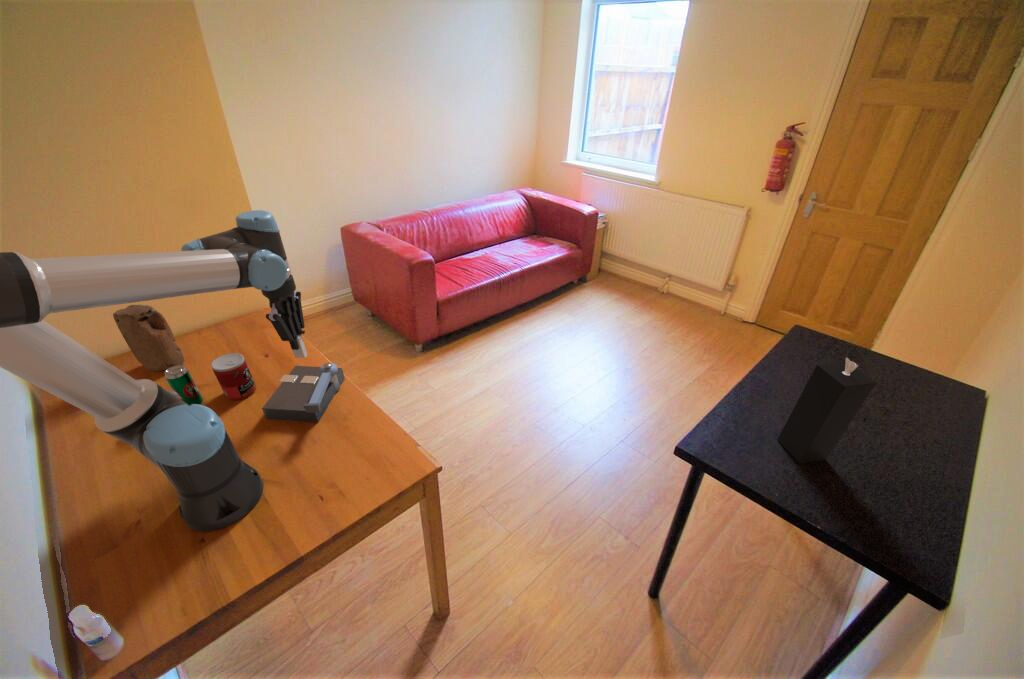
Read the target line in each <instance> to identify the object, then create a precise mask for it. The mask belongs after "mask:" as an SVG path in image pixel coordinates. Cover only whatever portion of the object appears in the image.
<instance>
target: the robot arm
mask: <svg viewBox="0 0 1024 679" xmlns="http://www.w3.org/2000/svg"><path fill="white" fill-rule="evenodd" d="M235 222H236V223H235V224H236V227H233V228H230V229H228V230H224V231H221V232H217V233H214V234H212V235H207V236H204V237H201V238H199V237H198V238H197V239H194V240H192V241H189V242H186V243H185V244H183V245H182V246H181V249H180V250H179V251H177V250H176V251H158V252H143V253H141V252H140V253H139V252H138V253H137V252H136V253H122V254H121V253H120V254H119V253H118V254H102V255H101V254H99V255H97V254H96V255H81V256H62V257H61V256H59V257H45V258H43V257H42V258H41V257H40V258H29V257H27V256H26V255H23V254H21V253H20V252H17V251H5V252H4V251H2V252H0V368H1V369H3V370H6V372H9V373H10V374H12V375H14V376H17V377H18V378H20V379H22V380H25V381H26V382H28V383H30V384H32V385H34V386H36V387H38V388H40V389H41V390H43V391H45V392H47V393H49V394H51V395H53V396H55V397H57V398H59V399H60V400H62V401H64V402H66V403H68V404H70V405H72V406H74V407H76V408H78V409H80V410H81V411H83V412H86V413H87V414H89V415H91V416H93V417H94V425H95V426H96V428H97V429H98V430H99V431H102V432H103V433H105V434H107V435H109V436H111V437H114V438H115V439H117V440H119V441H121V442H123V443H124V444H125V443H126V444H127V445H129V446H130V447H131V448H133V449H135V450H136V451H137V452H139V453H140V454H141V455H142V456H143V457H144V458H146V459H147V460H148V461H150V462H151V463H152V464H153V465H154V466H155V467H157V468H159V469H160V471H162V473H163V474H164V475H165V477H166V478H167V480H168V481H169V483H170V484H171V486H172V487H173V488H174V489H175V491H176V493H177V494H178V495H177V496H178V497H177V499H178V502H179V507H178V510H179V516H180V518H181V519H182V520H183V523H185V525H186V527H189V529H191V530H192V531H196V532H213V531H217V530H220V529H223V528H227V527H228V526H230V525H233V524H234V523H236V522H239V521H240V520H241V519H242V518H244V517H245V516H246V515H247V514H249V513H250V512H251V511H252V510H253V509H254V508H255V506H256V505H257V504H258V502H259V500H260V499H261V497H262V495H263V491H264V482H263V479H262V477H261V475H260V473H259V472H258V471H257V470H256V469H255V468H254V467H253V466H251V465H250V464H249V463H247V462H245V461H244V460H242V459H241V458H240V455H239V453H238V451H237V450H236V448H235V446H234V444H233V442H232V440H231V438H230V436H229V434H228V433H227V430H226V428H225V424H224V422H223V421H222V419H221V418H220V416H218V414H217V413H216V412H215V411H214V410H213V409H212V408H210V407H208V406H206V405H202V404H201V405H199V404H192V405H191V406H190V405H188V404H187V403H185V402H184V401H182V400H181V399H179V398H178V397H177V396H176V395H175V394H174V393H173V392H171V391H170V390H167V389H166V388H164V387H163V386H161V385H159V384H158V383H157V382H155V381H153V380H151V379H148V378H140V379H135V378H133V377H132V376H130V375H129V374H127V373H126V372H124V371H123V370H121V369H119V368H118V367H117V366H115V365H113V364H112V363H110V362H108V361H107V360H105V359H104V358H103V357H101V356H99V355H98V354H96V353H95V352H93V351H92V350H90V349H89V348H87V347H85V346H84V345H82V344H81V343H79V342H78V341H76V340H74V339H73V338H71V337H70V336H68V335H67V334H66V333H64V332H62V331H61V330H59V329H58V328H56V327H55V326H53V325H51V324H49V323H48V322H46V321H45V320H44V319H45V318H46V317H47V316H48V315H50V314H57V313H65V312H72V311H79V310H87V309H94V308H103V307H108V306H109V307H110V306H117V305H124V304H131V303H139V302H141V303H142V302H149V301H155V300H162V299H170V298H177V297H186V296H192V295H193V296H194V295H199V294H200V295H201V294H206V293H213V292H214V293H215V292H220V291H221V292H223V291H230V290H237V289H238V290H239V289H246V288H248V289H249V288H254V289H256V290H260V291H261V294H262V295H263V297H265V298H266V299H268V301H269V308H270V312H269V313H266V315H265V318H266V319H267V321H269V322H270V323H271V324H272V326H273V328H274V330H275V331H276V333H277V334H278V336H279V338H280V339H281V341H282V342H289V346H290V348H291V350H292V352H293V355H294V357H295V358H297V359H305V358H306V357H307V356H308V352H307V349H306V347H305V346H306V345H305V343H304V339H303V335H304V334H306V330H302V329H305V320H304V313H303V306H302V292H301V291H296V289H297V285H296V283H295V280H294V277H293V276H294V275H292V270H291V265H290V263H289V261H288V257H287V254H286V250H285V246H284V244H283V241H282V240H283V239H282V237H281V233H280V229H279V226H278V224H277V221H276V219H275V217H274V215H273V214H272V212H270V211H268V210H267V211H266V210H263V209H262V210H261V209H260V210H259V209H258V210H257V209H256V210H249V211H244V212H241V213H240V214H238V215H236V217H235ZM295 358H294V359H295Z"/></svg>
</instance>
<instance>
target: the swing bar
mask: <svg viewBox="0 0 1024 679" xmlns="http://www.w3.org/2000/svg"><path fill="white" fill-rule="evenodd" d="M330 363H331V365H332V367H331V368H329V369H325V368H324V364H322V366H320V367H321V368H320V372H321V377H320V379H319V382H318V384H317V386H316V388H315V391H314V393H313V395H312V397H311V399H310V402H309V403H307V404H305V405H304V407H305V409H306V412H307V413H314V412H320V411H321V409H320V406H319V405H320V403H321V400H322V398H323V396H324V393H325V391H326V389H327V386H328V384H329V381H330V379H331V377H332V376H334V375H336V374H337V372H338V369H337V368H338V365H337V364H336V363H333V362H330Z"/></svg>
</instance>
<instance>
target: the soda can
mask: <svg viewBox="0 0 1024 679" xmlns="http://www.w3.org/2000/svg"><path fill="white" fill-rule="evenodd" d="M164 379H165V381H166V382H167V384H168V386H169V388H170V389H171V391H172V393H173V394H174V395H176V396H177V397H178V398H179V399H181V400H182V401H184V402H185V403H187V404H188V405H190V406H191V405H192V404H199V405H202V404H203V402H204V398H203V395H202V393H201V392H200V390H199V388H198V386H197V384H196V382H195V381H194V378H193V377H192V375H191V373H190V371H189V370H188V367H185V366H184V365H182V364H181V365H176V366H173V367H170V368H168V369H167V370H164Z"/></svg>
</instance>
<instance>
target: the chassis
mask: <svg viewBox="0 0 1024 679" xmlns="http://www.w3.org/2000/svg"><path fill="white" fill-rule="evenodd" d="M331 363H332V362H326V363H324V364H323V365H324V368H325V369H329V368H331V367H332V365H331ZM320 368H321V366H310V365H309V366H308V365H307V366H306V365H295V366H294V367H293V368H292V369H291V371H289V373H288V374H283V375H282V377H281V378H280V379H279V380H278V382H279V383H280V384H279V386H278V387H277V388H276V390H275V391H274V392H273V394H271V396H270V397H269V399H268V400H267V401H266V402H265V403H264V405H263V407H262V408H261V409H262V412H263V414H264V417H265V418H266V420H270V421H271V420H273V421H289V422H292V421H293V422H306V423H319V422H320V420H321V418H322V417H323V415H324V413H325V412H326V411H327V409H328V407H329V406H328V405H330V404H331V402H332V401H333V399H334V397H335V396H336V394H337V393H338V392H340V390H341V386H342V384H343V382H344V381H345V379H346V378H345V375H344V374H345V373H344V371H343V368H341V367H337V369H338V372H337V374H336V375H334V376H332V377H331V379H330V381H329V384H328V386H327V389H326V391H325V393H324V396H323V398H322V400H321V403H320V405H319V406H320V409H321V411H320V412H314V413H307V412H306V409H305V407H304V405H305V404H307V403H309V402H310V399H311V397H312V395H313V393H314V391H315V388H316V386H317V384H318V382H319V379H320V377H321V372H320ZM334 395H335V396H334ZM331 400H332V401H331ZM329 403H330V404H329Z"/></svg>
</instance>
